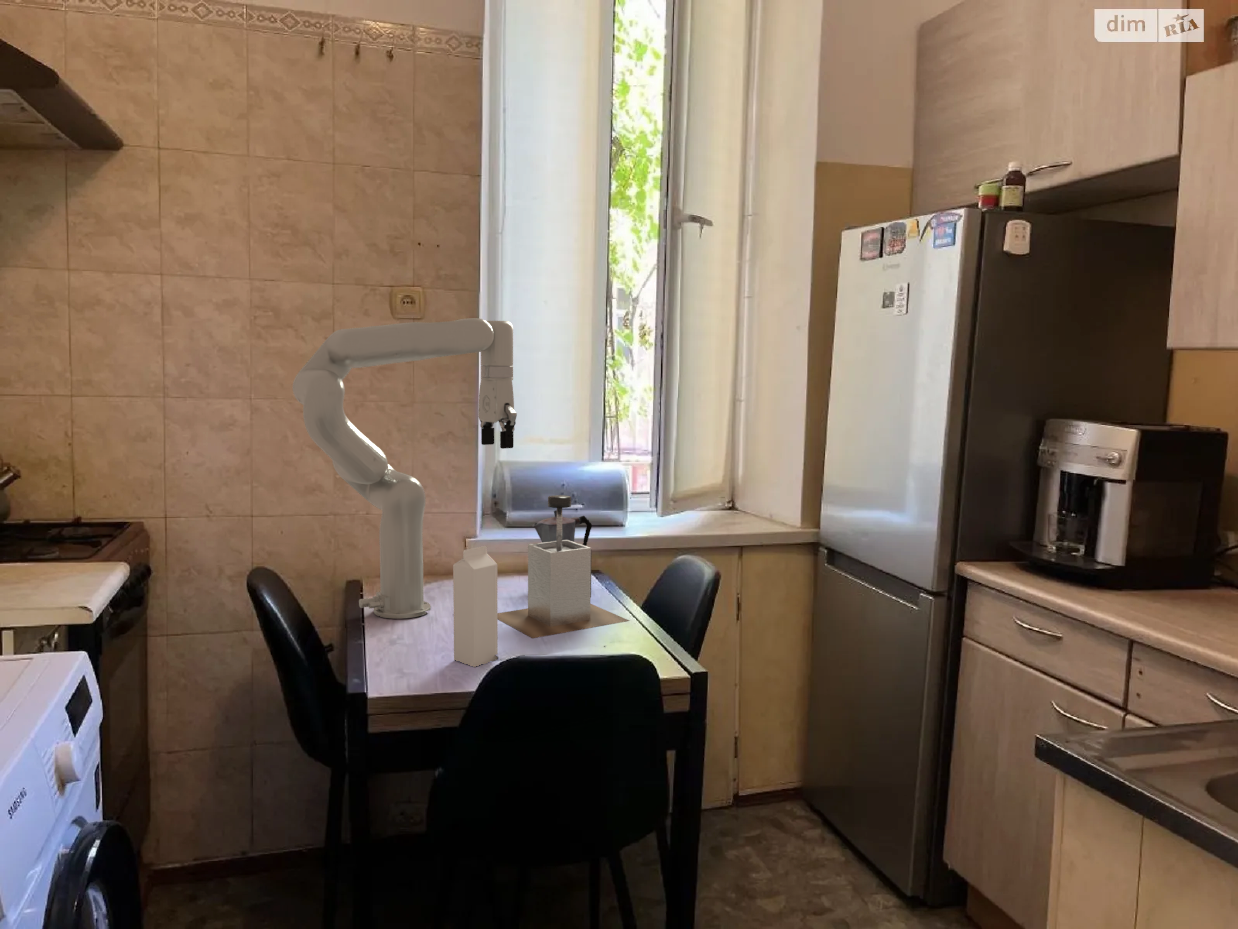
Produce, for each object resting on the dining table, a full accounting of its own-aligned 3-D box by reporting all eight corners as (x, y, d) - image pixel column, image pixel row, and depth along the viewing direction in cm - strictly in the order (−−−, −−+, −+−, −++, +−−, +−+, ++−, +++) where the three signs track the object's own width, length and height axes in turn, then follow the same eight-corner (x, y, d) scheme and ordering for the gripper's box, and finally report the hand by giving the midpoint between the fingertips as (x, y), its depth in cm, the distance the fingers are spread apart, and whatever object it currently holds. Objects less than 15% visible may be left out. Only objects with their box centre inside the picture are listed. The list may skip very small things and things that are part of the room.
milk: (497, 660, 177) (498, 547, 174) (474, 668, 172) (474, 552, 169) (476, 653, 181) (477, 543, 178) (452, 660, 176) (452, 547, 173)
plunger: (552, 560, 194) (552, 501, 193) (534, 553, 201) (534, 495, 199) (584, 556, 199) (585, 498, 197) (565, 549, 205) (566, 493, 204)
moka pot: (526, 586, 233) (526, 508, 230) (582, 580, 239) (583, 505, 237) (539, 595, 224) (539, 514, 222) (597, 589, 231) (598, 511, 228)
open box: (550, 626, 194) (550, 552, 192) (527, 615, 203) (528, 544, 201) (601, 617, 202) (602, 546, 200) (578, 607, 210) (578, 538, 208)
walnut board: (532, 644, 187) (532, 638, 186) (489, 619, 203) (489, 614, 203) (629, 626, 200) (629, 620, 200) (581, 604, 216) (581, 599, 216)
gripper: (466, 372, 220) (466, 443, 222) (499, 374, 206) (499, 450, 208) (494, 372, 224) (494, 442, 226) (529, 374, 210) (528, 448, 212)
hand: (497, 446), depth 217 cm, fingers open, 9 cm apart
